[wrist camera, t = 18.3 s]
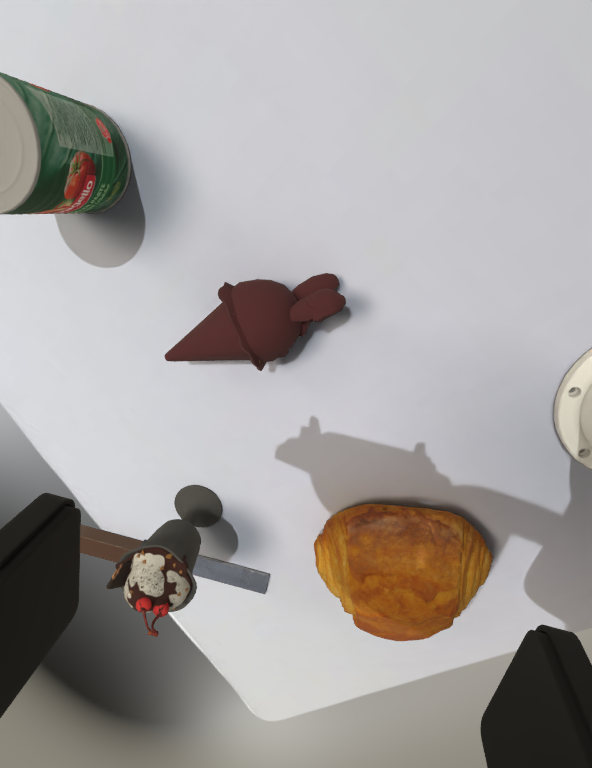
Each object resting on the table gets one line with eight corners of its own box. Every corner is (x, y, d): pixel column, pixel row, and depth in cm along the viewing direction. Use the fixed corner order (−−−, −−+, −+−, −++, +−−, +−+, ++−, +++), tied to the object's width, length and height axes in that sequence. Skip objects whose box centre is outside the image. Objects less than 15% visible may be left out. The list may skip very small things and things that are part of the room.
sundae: (243, 519, 46) (189, 652, 32) (190, 541, 48) (118, 674, 34) (208, 467, 45) (135, 582, 31) (154, 491, 47) (64, 610, 33)
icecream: (181, 418, 36) (364, 351, 33) (127, 340, 32) (329, 256, 30) (195, 372, 42) (351, 312, 39) (150, 301, 38) (320, 229, 35)
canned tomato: (61, 79, 35) (-68, 24, 24) (148, 145, 35) (59, 119, 25) (22, 174, 38) (-107, 160, 27) (104, 234, 38) (8, 242, 28)
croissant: (329, 469, 45) (308, 514, 38) (499, 503, 41) (511, 561, 34) (318, 586, 50) (297, 646, 43) (469, 626, 46) (474, 701, 39)
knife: (270, 573, 48) (266, 584, 47) (265, 592, 49) (262, 604, 48) (65, 517, 50) (55, 527, 48) (65, 538, 51) (55, 548, 49)
